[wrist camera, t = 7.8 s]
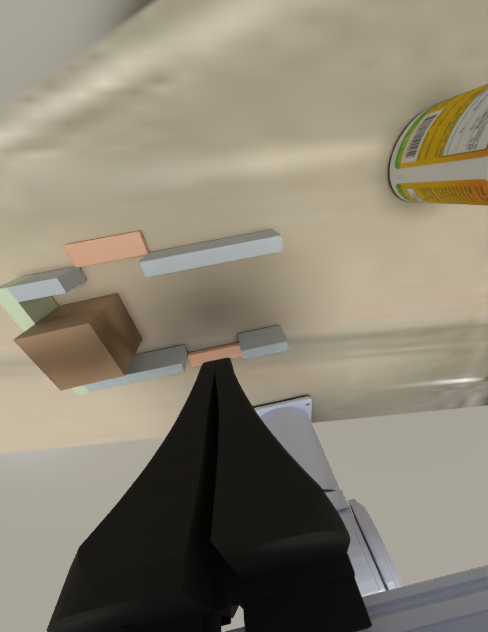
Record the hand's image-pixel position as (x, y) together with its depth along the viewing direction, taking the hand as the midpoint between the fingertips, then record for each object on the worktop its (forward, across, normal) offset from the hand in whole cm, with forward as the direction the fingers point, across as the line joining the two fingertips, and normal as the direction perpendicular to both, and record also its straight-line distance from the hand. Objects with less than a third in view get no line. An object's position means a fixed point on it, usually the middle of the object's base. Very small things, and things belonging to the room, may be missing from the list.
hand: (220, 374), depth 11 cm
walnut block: (+8, +10, 0) cm, 13 cm away
